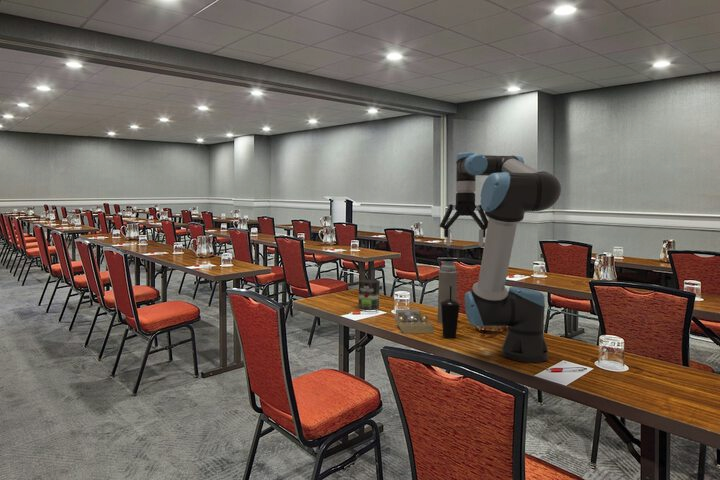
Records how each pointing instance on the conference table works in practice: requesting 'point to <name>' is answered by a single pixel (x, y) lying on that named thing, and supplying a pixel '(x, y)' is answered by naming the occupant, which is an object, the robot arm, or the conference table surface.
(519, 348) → the robot arm
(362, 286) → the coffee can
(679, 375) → the conference table surface
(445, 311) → the drinking cup
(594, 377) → the conference table surface
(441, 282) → the thermos bottle
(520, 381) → the conference table surface
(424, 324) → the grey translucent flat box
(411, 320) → the grey mechanical part
